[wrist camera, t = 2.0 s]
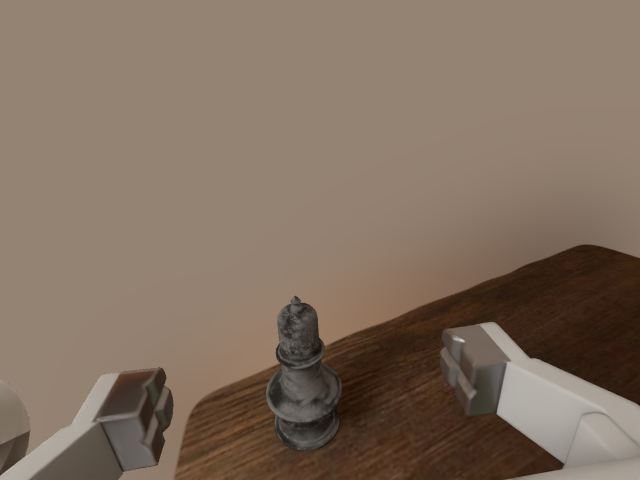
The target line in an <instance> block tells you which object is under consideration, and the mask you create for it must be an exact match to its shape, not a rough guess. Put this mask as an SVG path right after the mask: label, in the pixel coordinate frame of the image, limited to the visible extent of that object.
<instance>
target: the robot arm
mask: <svg viewBox="0 0 640 480" xmlns="http://www.w3.org/2000/svg"><path fill="white" fill-rule="evenodd" d="M441 340H442V342H443V344H444V345H445V347H444V348H443V349H442V350H441V351H440V366H441V371H442V373H443V376H444V378H445V380H446V382H447V383H448V385H450V386H452V387H453V388H455V389H456V395H455V397H456V399H457V400H458V402H459V404H460V405H461V407H462V409H463V410H464V412H465V414H466V415H467V416H473V415H480V414H488V413H496V412H497V415H499V416H500V417H501V418H503V419H504V420H505V421H507V422H508V423H509V424H511V425H512V426H513V427H515V428H516V429H518V430H519V431H520V432H522V433H523V434H524V435H526V436H527V437H528V438H530V439H531V440H533V441H534V442H535V443H537V444H538V445H539V446H541V447H542V448H543V449H545V450H546V451H547V452H549V453H550V454H552V455H553V456H554V457H556V458H557V459H558V460H560V461H561V462H562V463H564V466H563V469H562V470H557V471H551V472H545V473H540V474H534V475H528V476H523V477H517V478H511V479H506V480H640V406H639V405H638V404H636V403H634V402H632V401H629V400H627V399H625V398H623V397H620V396H618V395H616V394H614V393H612V392H609V391H607V390H605V389H603V388H600V387H598V386H596V385H594V384H592V383H589V382H587V381H585V380H583V379H581V378H578V377H576V376H574V375H572V374H569V373H567V372H565V371H563V370H561V369H558V368H556V367H554V366H552V365H550V364H547V363H545V362H543V361H541V360H538V359H536V358H533V359H530V358H529V357H528V356H527V355H526V354H525V353H524V352H523V351H522V350H521V349H520V347H519V346H518V345H517V344H516V343H515V342H514V341H513V340H512V339H511V338H510V337H509V336H508V335H507V334H506V333H505V332H504V331H503V330H502V329H501V328H500V327H499V326H498V325H497V324H496V323H494V322H488V323H482V324H476V325H471V326H464V327H456V328H449V329H444V331H443V333H442V338H441ZM165 381H166V375H165V372H164V370H163V369H162V368H160V367H159V368H151V369H142V370H132V371H124V372H117V373H108V374H104V375H103V376H101V377H100V378H99V379H98V381H97V382H96V384H95V386H94V387H93V389H92V390H91V392H90V394H89V395H88V397H87V399H86V401H85V402H84V404H83V405H82V407H81V409H80V410H79V412H78V414H77V415H76V417H75V419H74V420H73V422H72V424H71V425H70V426H66V427H63V428H62V429H60V430H59V431H58V432H56V433H55V434H54V435H53V436H51V437H50V438H49V439H47V440H46V441H45V442H43V443H42V444H41V445H40V446H38V447H37V448H36V449H34V450H33V451H32V452H30V453H29V454H28V455H27V456H25V457H24V458H23V459H21V460H20V461H19V462H17V463H16V464H15V465H14V466H12V467H11V468H10V469H8V470H7V471H6V472H4V473H3V474H2V475H0V480H118V479H119V478H120V477H121V475H122V474H123V472H124V471H129V470H134V469H139V468H145V467H151V466H156V465H158V462H159V459H160V455H161V452H162V449H163V446H164V443H165V439H164V437H163V434H162V433H163V432H164V431H165V430H166V429H167V428H168V427H169V425H170V423H171V419H172V415H173V397H172V394H171V390H170V389H169V388H167V387H166V386H164V384H165Z"/></svg>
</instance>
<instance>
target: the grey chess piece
mask: <svg viewBox="0 0 640 480" xmlns="http://www.w3.org/2000/svg"><path fill="white" fill-rule="evenodd" d="M300 302H301V300H300V299H299V298H298V297H296V296H294V298H293V299H292V300H291V303H292V304H289V305H287V306H285V307H284V308H283V309H282V310H281V311H280V313H279V315H278V319H277V325H278V332H279V341H280V343H279V345H278V347H277V348H276V357H277V359H278V361H279V362H280V363H281V365H282V368H281V369H280V370H279V371H277V372H276V373H275V374H274V376H273V377H272V378H271V379H270V381H269V383H268V386H267V391H266V397H267V403H268V405H269V407H270V408H271V410H272V411H273V412H274V413H275V414H276V417H275V429H276V434H277V435H278V437H279V439H280V440H281V441H282V442H283V443H284V444H285V445H286V446H288V447H290V448H292V449H294V450H299V451H312V450H315V449H318V448H321V447H322V446H324V445H326V444H327V443H328V442H329V441H330V440H331V439H332V438H333V437H334V436H335V434H336V432H337V430H338V426H339V413H338V410H337V408H336V406H337V404H338V402H339V400H340V398H341V393H342V385H341V381H340V378H339V376H338V374H337V373H336V372H335V371H334V370H333V369H332V368H330V367H329V366H327V365H326V364H323V363H322V362H321V358H322V357H323V355H324V352H325V346H324V343H323V341H322V340H321V339H320V338H319V333H318V318H317V313H316V311H315V309H313V307H311V306H310V305H309V304H306V303H300Z"/></svg>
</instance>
